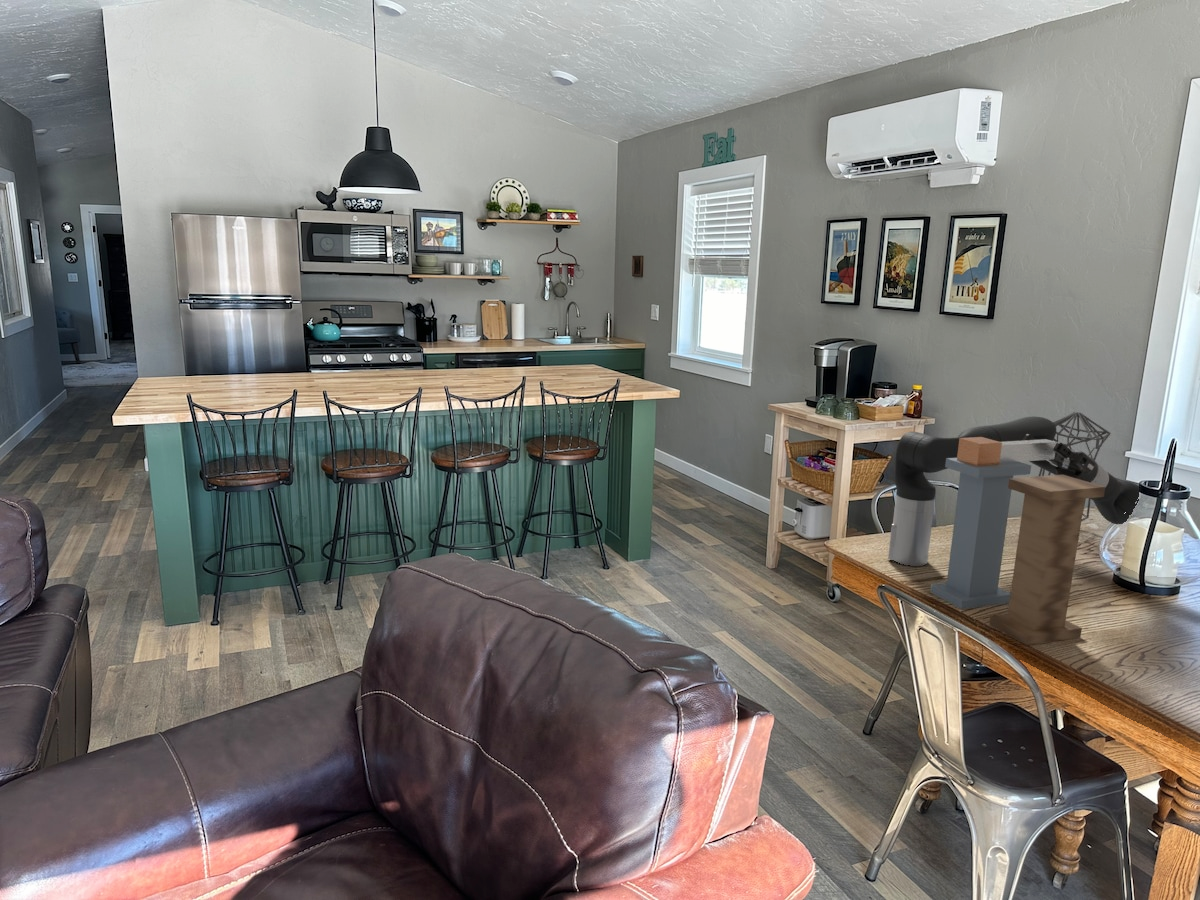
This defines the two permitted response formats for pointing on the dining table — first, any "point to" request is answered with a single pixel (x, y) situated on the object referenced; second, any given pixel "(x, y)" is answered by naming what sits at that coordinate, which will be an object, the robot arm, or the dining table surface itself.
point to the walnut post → (1045, 558)
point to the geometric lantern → (1080, 438)
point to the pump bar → (1003, 451)
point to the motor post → (978, 534)
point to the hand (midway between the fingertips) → (1040, 441)
